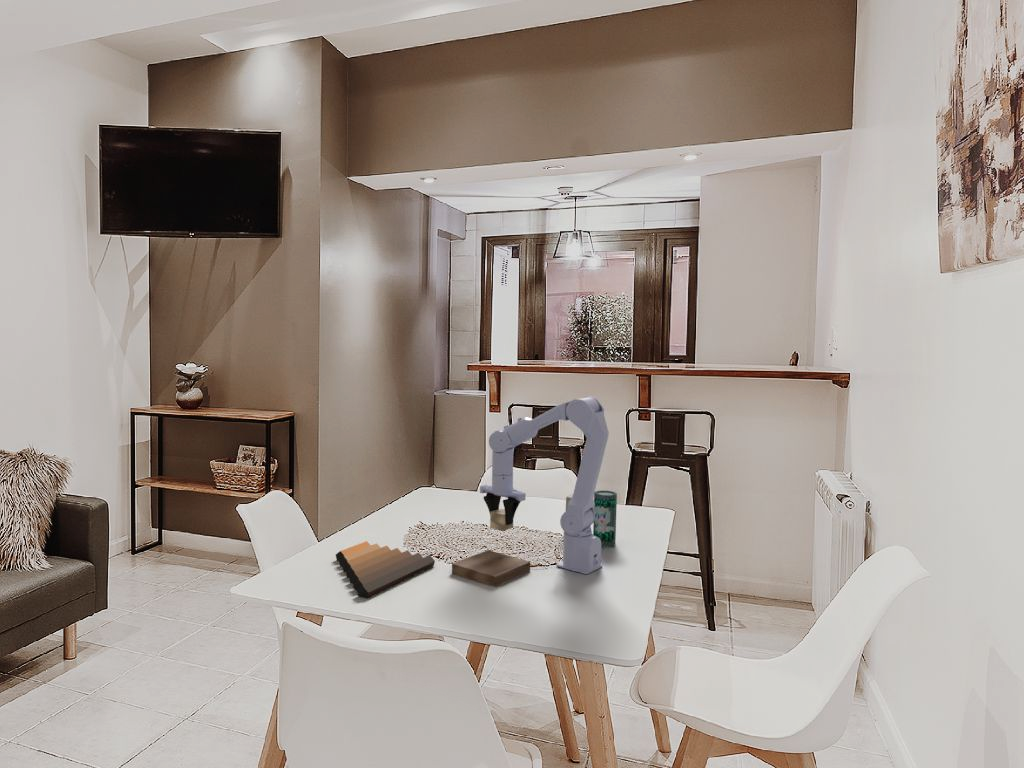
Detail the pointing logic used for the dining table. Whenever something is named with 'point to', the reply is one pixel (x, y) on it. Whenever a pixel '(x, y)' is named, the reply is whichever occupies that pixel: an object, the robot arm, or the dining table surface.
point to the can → (605, 517)
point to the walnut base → (491, 568)
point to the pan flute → (379, 567)
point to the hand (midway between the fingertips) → (501, 522)
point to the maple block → (499, 520)
